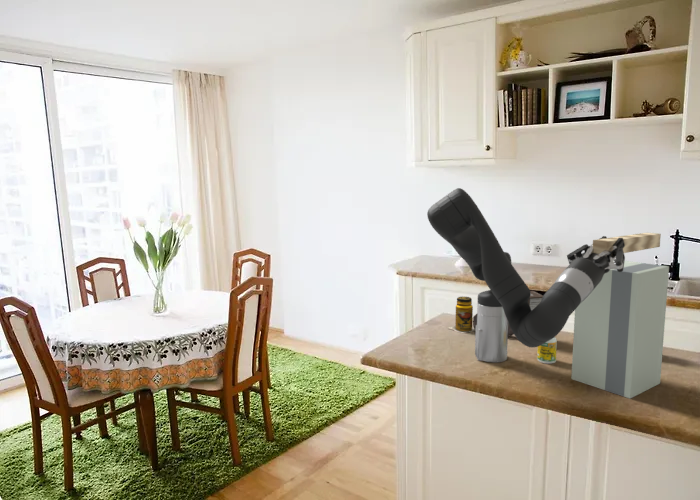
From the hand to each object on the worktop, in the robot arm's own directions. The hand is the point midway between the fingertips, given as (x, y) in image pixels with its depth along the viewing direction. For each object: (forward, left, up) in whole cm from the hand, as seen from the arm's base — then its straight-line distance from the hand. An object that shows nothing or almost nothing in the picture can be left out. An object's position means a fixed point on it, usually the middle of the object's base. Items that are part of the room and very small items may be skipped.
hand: (613, 240), depth 127 cm
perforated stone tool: (-17, +51, -41) cm, 68 cm away
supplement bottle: (-7, +26, -40) cm, 48 cm away
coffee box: (-7, +46, -40) cm, 62 cm away
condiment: (-28, +58, -40) cm, 76 cm away
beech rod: (+5, +4, -3) cm, 8 cm away
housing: (+7, +11, -40) cm, 42 cm away
